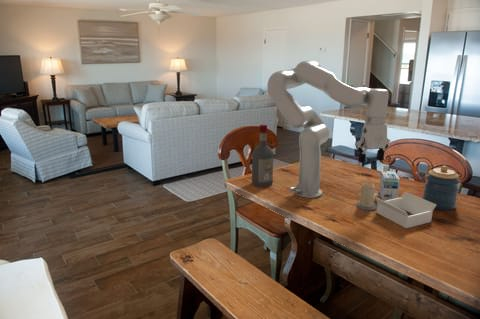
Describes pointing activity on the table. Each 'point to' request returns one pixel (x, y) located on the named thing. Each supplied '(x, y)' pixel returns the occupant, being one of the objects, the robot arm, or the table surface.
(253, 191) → the table surface
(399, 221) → the white open box
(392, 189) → the light bulb box
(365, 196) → the candle
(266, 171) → the liquor
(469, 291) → the table surface
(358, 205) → the grey ellipsoid
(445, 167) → the canister
